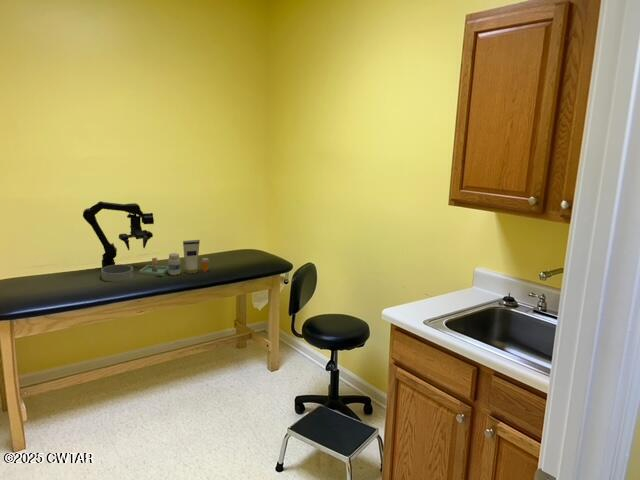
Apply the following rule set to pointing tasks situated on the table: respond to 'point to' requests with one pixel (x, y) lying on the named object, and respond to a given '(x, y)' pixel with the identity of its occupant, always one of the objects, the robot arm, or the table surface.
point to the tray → (160, 272)
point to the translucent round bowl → (117, 273)
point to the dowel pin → (154, 265)
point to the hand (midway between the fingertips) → (136, 249)
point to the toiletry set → (187, 259)
